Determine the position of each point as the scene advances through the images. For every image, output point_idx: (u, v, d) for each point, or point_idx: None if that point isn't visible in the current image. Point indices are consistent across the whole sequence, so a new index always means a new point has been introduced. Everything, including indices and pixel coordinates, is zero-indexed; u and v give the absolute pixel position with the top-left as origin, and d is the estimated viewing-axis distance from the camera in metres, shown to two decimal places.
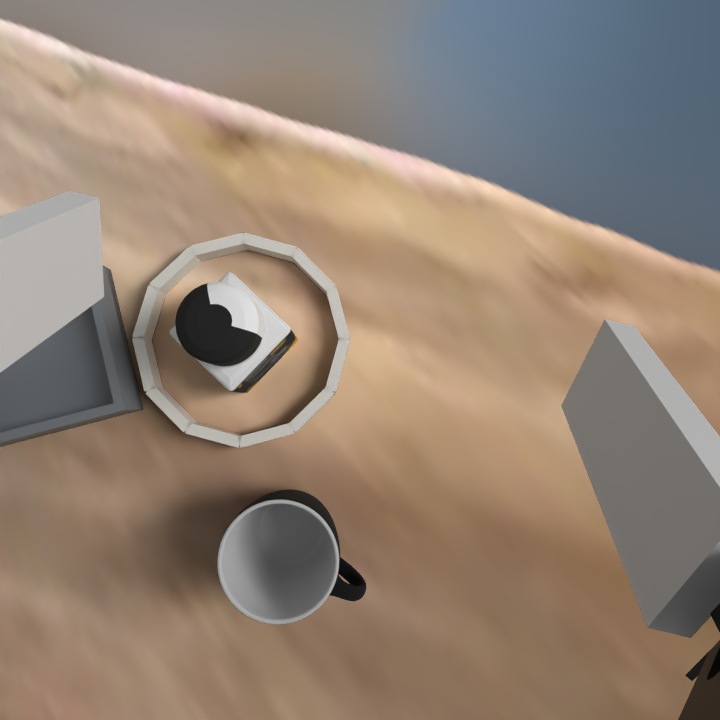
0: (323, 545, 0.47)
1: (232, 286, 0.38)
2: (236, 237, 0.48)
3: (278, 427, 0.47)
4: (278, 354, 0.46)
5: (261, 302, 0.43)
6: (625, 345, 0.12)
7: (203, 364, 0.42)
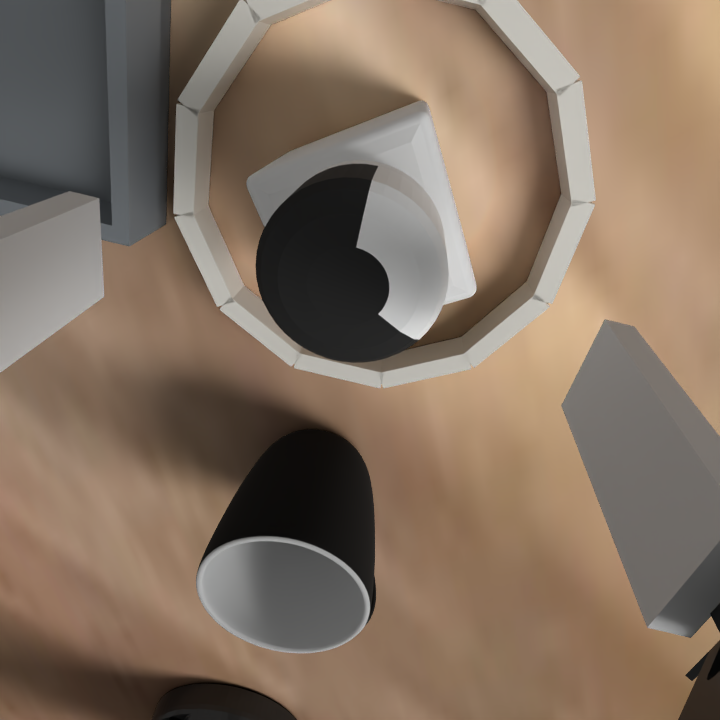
0: None
1: (424, 220, 0.15)
2: None
3: (362, 370, 0.29)
4: None
5: (453, 216, 0.19)
6: (625, 344, 0.12)
7: None
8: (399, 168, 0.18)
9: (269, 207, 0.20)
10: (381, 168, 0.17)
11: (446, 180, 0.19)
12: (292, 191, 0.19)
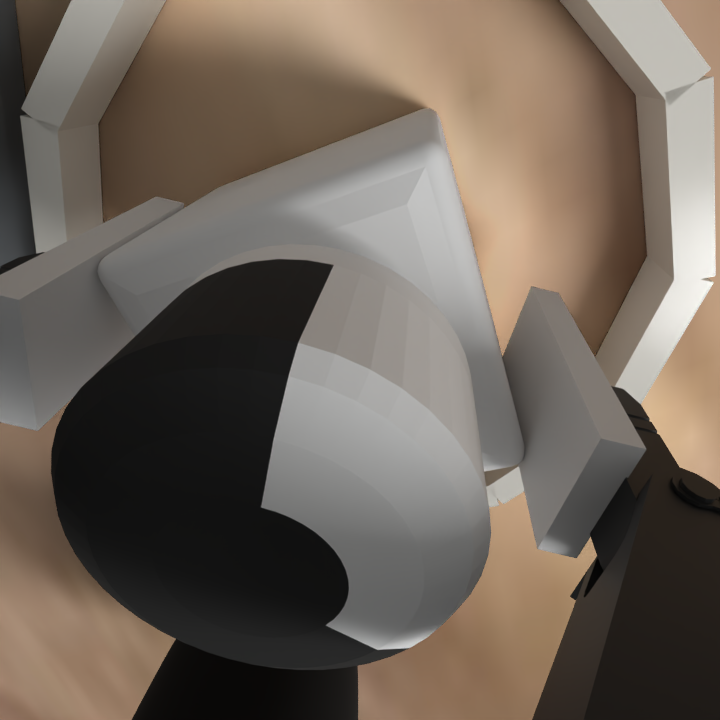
0: None
1: (435, 440, 0.06)
2: None
3: None
4: None
5: (488, 338, 0.10)
6: (544, 307, 0.13)
7: None
8: (383, 253, 0.09)
9: (141, 316, 0.10)
10: (339, 273, 0.08)
11: (476, 274, 0.10)
12: (180, 290, 0.10)
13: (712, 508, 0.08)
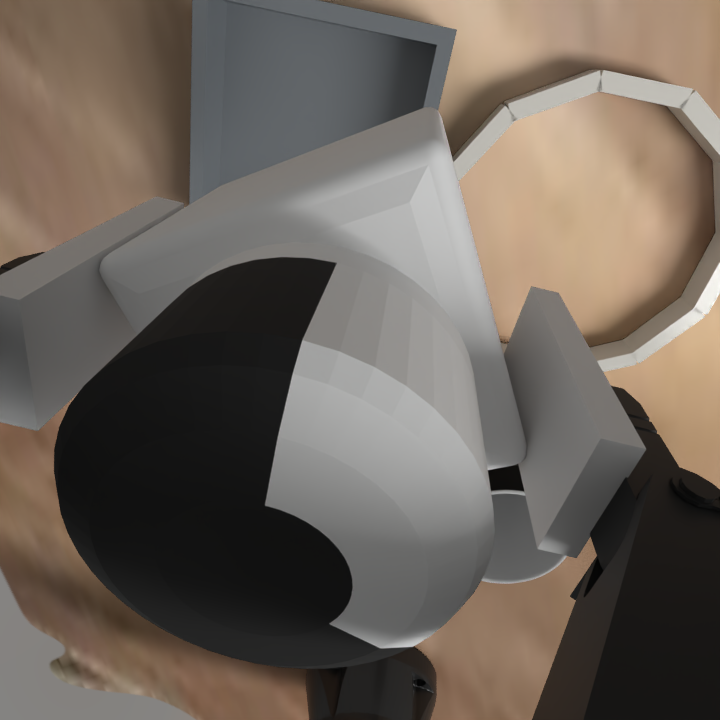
0: None
1: (439, 438, 0.06)
2: (677, 91, 0.28)
3: None
4: None
5: (491, 337, 0.10)
6: (544, 307, 0.13)
7: None
8: (386, 252, 0.09)
9: (143, 314, 0.10)
10: (342, 271, 0.08)
11: (478, 272, 0.10)
12: (182, 288, 0.10)
13: (713, 508, 0.08)
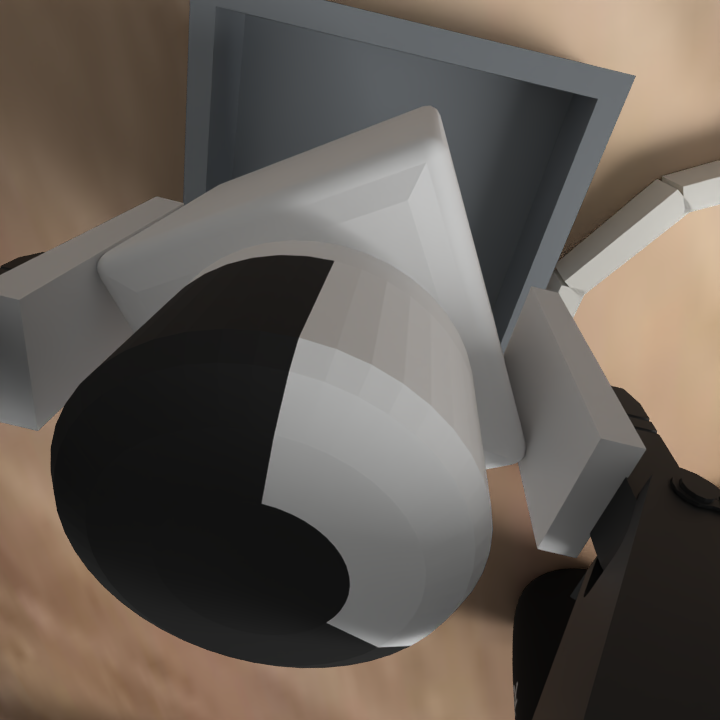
0: None
1: (436, 436, 0.06)
2: None
3: None
4: None
5: (489, 335, 0.10)
6: (544, 307, 0.13)
7: None
8: (384, 250, 0.09)
9: (141, 313, 0.10)
10: (339, 269, 0.08)
11: (477, 270, 0.09)
12: (180, 287, 0.10)
13: (712, 507, 0.08)
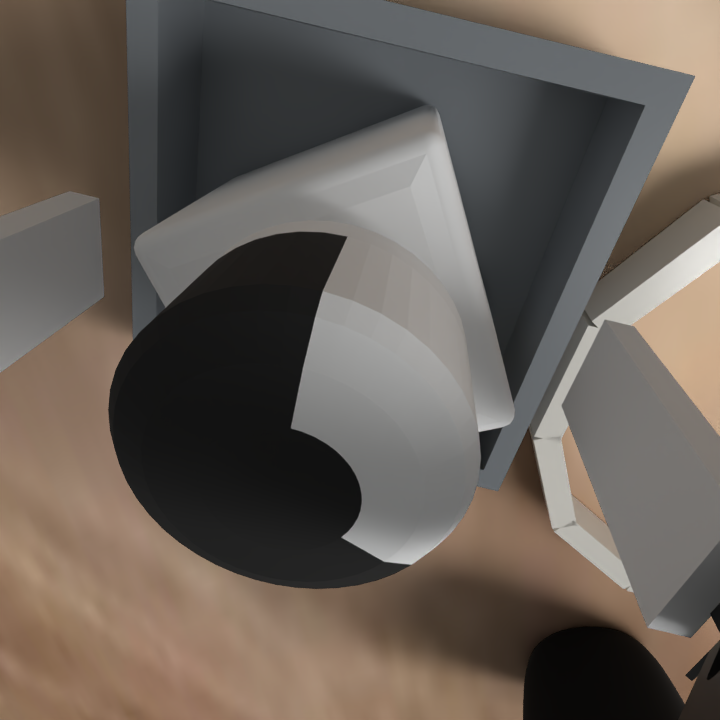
0: None
1: (434, 373, 0.07)
2: None
3: None
4: None
5: (481, 308, 0.11)
6: (625, 345, 0.12)
7: None
8: (389, 230, 0.10)
9: (172, 287, 0.12)
10: (352, 243, 0.09)
11: (470, 249, 0.11)
12: (208, 264, 0.11)
13: None
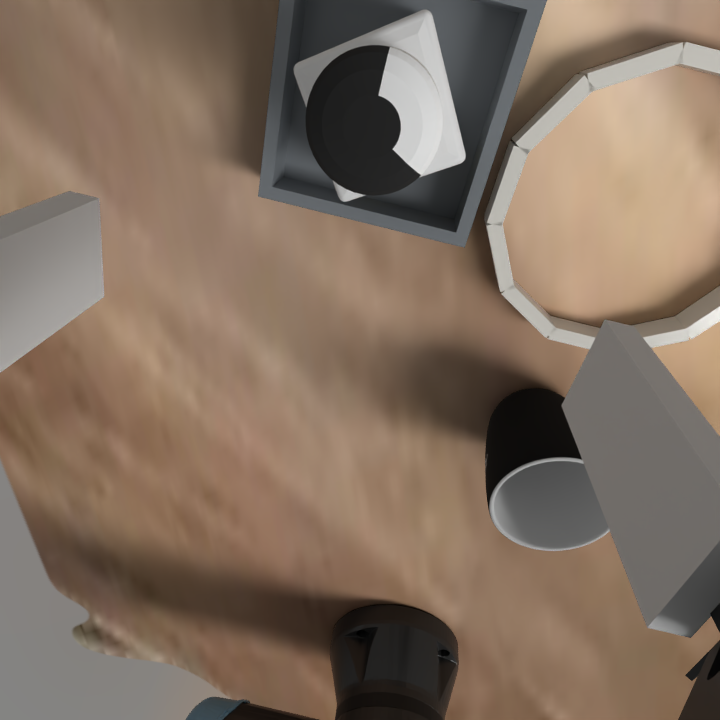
0: None
1: (426, 77, 0.22)
2: None
3: None
4: None
5: (448, 95, 0.26)
6: (625, 345, 0.12)
7: None
8: (408, 54, 0.25)
9: (310, 88, 0.26)
10: (396, 48, 0.23)
11: (443, 65, 0.25)
12: None
13: None
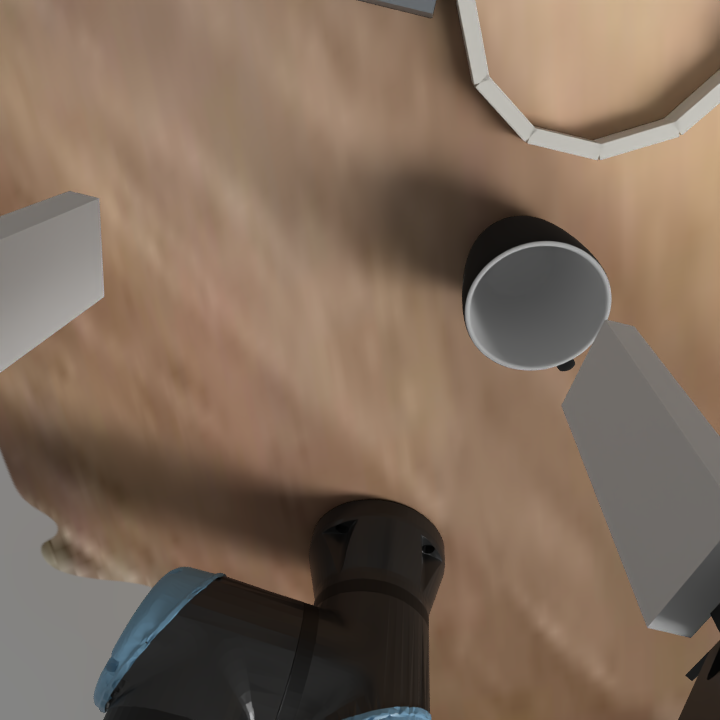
0: (537, 292, 0.42)
1: None
2: None
3: (585, 142, 0.35)
4: None
5: None
6: (625, 344, 0.12)
7: None
8: None
9: None
10: None
11: None
12: None
13: None
